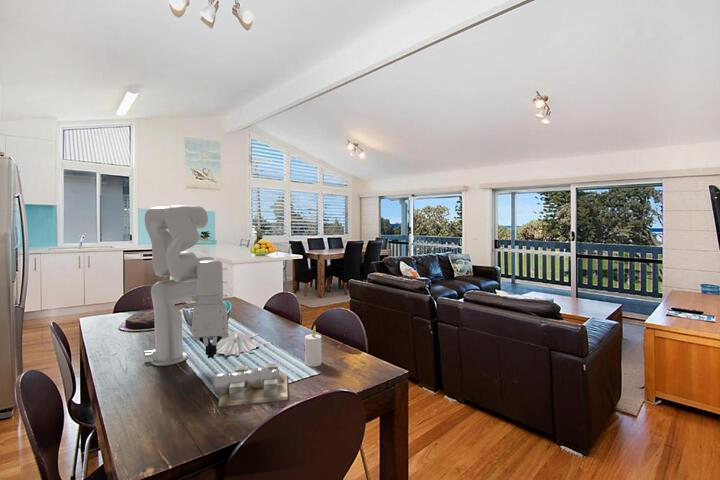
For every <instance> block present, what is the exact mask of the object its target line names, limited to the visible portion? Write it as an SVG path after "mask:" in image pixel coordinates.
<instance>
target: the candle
mask: <svg viewBox="0 0 720 480" xmlns="http://www.w3.org/2000/svg"><path fill="white" fill-rule="evenodd" d="M316 328H317V326H316V325H315V324H314V326H313V328H312V332H311V333H310V334H306V335H305V336H304V345H303V351H304V365H305V366H306V367H310V368H313V367H319V366H321V365H322V335H321V334H317V333H316V332H317V331H316V330H317V329H316Z"/></svg>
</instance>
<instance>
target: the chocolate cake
mask: <svg viewBox="0 0 720 480" xmlns="http://www.w3.org/2000/svg"><path fill="white" fill-rule="evenodd" d="M118 329H119V330H121V331H123V330H124V332H125V331H130V332H132V333H137V332H136V331H146V332H151V331H150V330H152V331H155V321H154V310H146V311H142V312H136V313H133V314H132V315H131V316H128V317H127V318H126V319H125V320H124V322H122V323H120V324H119V325H118Z"/></svg>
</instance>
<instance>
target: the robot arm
mask: <svg viewBox="0 0 720 480" xmlns="http://www.w3.org/2000/svg"><path fill="white" fill-rule="evenodd" d="M208 221H209V216H208V212H207V211H206V209H205V208H204V207H202V206H200V205H181V204H177V205H170V206H154V207H150V208H149V209H147V210H146V211H145V213H144V227H145V230H146V232H147V234H148V236H149V239H150V243H151V251H152V266H153V271H154V274H155V276H158V277H161V278H162V277H164V278H165V277H167V278H168V277H171V278H172V279H165V280H160V281H157V282H155V283H154V284H152V285H151V289H150V295H151V296H150V297H151V301H152V307H153V311H154V321H155V330H154V345H155V349H153V350H144V352H143V356H144V358H151V359H150V364H151V365H154V366H158V367H164V366H171V365H176V364H180V363H182V362H185V360H187V358H188V354H187V352H185V351H184V349H183V348H184V346H183V343H184V341H183V314H182V313H181V311H180V309H179V308H177V307H176V304H177V305H178V304H180V303H187V302H193V301H194V302H196V303H195V304H194V306H193V312H192V323H191V326H192V327H191V335H192V337H191V339H192V340H194V341H199V342H201V343H202V344H203V346H204V347H205V356H207V359H214V358H215V356H216V355H217V352H218V351H217V344H218V343H219V342H220V341H221V340H223V339H227V338H229V337H230V336H229V335H230V333H229V330H228V329H229V320H228V319H229V318H228V317H229V316H228V310H227V305H226V302H225V301H224V284H223V283H224V278H223V277H224V275H223V273H224V272H223V262H222V261H221V260H218V259H215V258H214V257H209V256H208V257H207V256H205V257H204V256H203V257H197V255H196V254H195V253H194V252H192V251H187V250H188V249H191V248H193V247H194V246H195V245H197V244H198V243H199V240H200V235H201V234H200V233H199V231H198V229H204V228H205V227H206V226H207V224H208ZM210 338H212V341H211V340H210Z"/></svg>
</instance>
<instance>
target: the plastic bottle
mask: <svg viewBox="0 0 720 480" xmlns="http://www.w3.org/2000/svg"><path fill="white" fill-rule="evenodd" d="M279 373H280V371H279V368H278V369H275V370H274V369H273V370H272V371H270V370H268V369H267V368H266V367H264V366H263V367H262V366H261V367H257V368H253V369H250V370H249V369H248V371H245V372H236V373H235V372H219V373H217V374H215V375H214V377H213V382H212V388H213V389H212V390H213V392H214V394H215V395H218V396H219V395H220V396H221V395H223V394H226V393H229V387H230V384H231V383H240V382H244V389H248V388H263V387H264V380H274V379H278V380H279Z"/></svg>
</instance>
